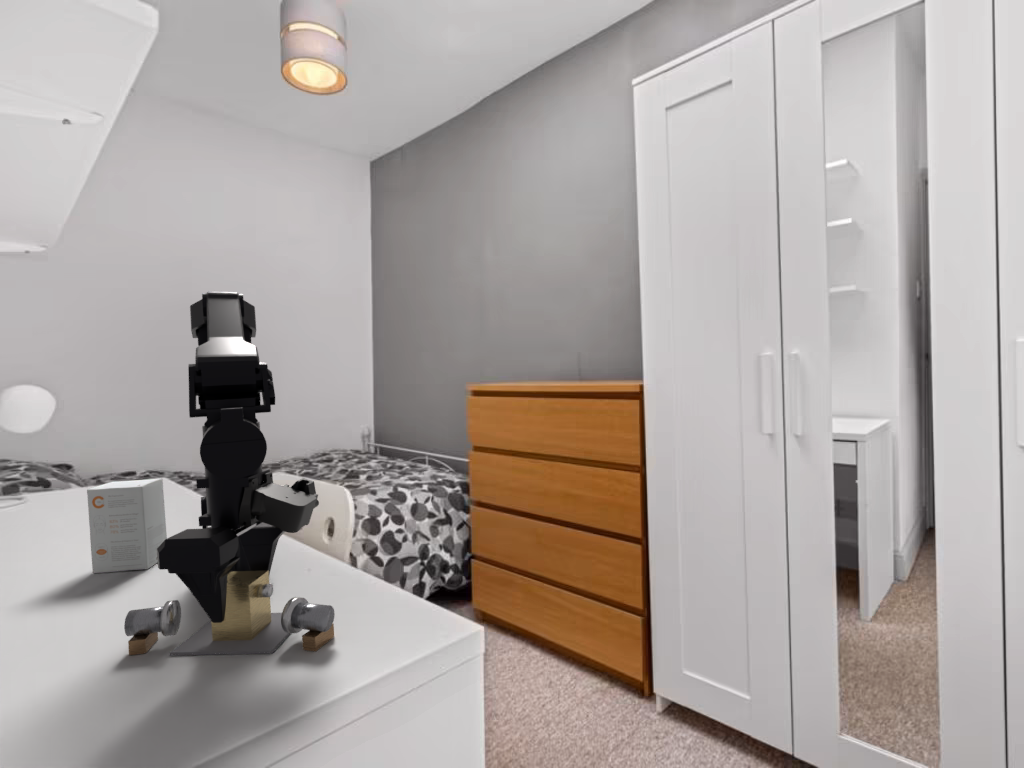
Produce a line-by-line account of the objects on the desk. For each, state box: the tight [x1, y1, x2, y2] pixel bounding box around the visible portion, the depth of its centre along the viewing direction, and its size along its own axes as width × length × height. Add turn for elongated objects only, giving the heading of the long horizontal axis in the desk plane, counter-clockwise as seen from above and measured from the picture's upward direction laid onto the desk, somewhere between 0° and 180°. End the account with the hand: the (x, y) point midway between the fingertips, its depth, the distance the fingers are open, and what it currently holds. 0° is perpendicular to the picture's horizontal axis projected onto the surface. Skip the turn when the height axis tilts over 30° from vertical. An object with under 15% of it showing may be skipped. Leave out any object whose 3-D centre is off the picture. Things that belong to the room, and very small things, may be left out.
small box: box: [86, 478, 168, 574], centre depth 87 cm, size 8×6×13 cm
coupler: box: [211, 570, 274, 641], centre depth 62 cm, size 4×7×6 cm, turn 88°
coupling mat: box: [169, 612, 291, 656], centre depth 62 cm, size 9×11×1 cm
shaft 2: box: [281, 596, 335, 652], centre depth 59 cm, size 4×4×5 cm
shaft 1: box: [124, 599, 182, 656], centre depth 60 cm, size 4×4×5 cm
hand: (241, 603), depth 62 cm, fingers open, 9 cm apart
